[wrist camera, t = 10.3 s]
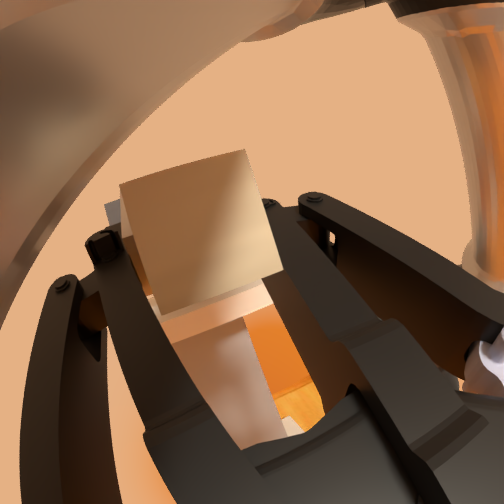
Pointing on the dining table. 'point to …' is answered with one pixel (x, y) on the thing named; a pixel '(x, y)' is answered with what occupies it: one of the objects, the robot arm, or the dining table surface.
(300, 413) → the dining table surface
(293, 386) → the dining table surface
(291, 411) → the dining table surface
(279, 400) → the dining table surface
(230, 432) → the stand
